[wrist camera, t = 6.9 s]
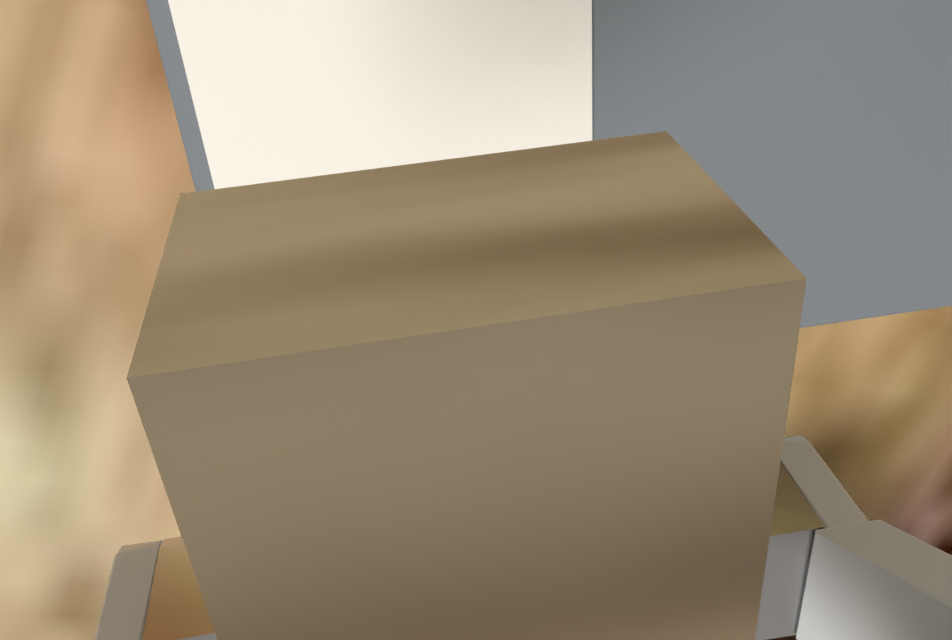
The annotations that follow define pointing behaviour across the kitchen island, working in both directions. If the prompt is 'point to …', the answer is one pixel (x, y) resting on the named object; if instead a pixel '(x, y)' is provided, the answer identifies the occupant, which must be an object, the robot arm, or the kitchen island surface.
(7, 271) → the kitchen island surface
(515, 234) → the tan rectangular block
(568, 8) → the mat
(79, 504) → the kitchen island surface
